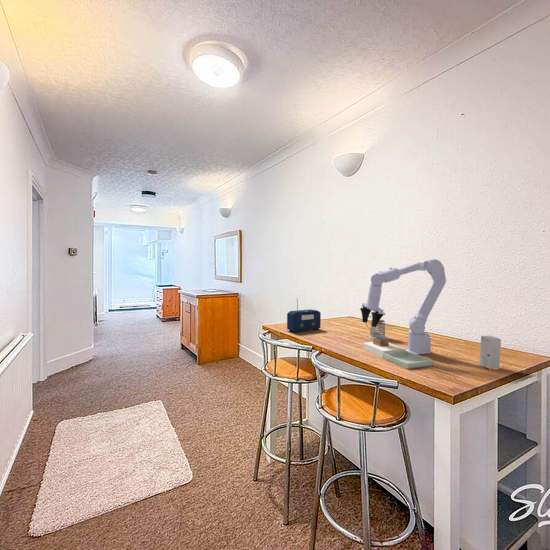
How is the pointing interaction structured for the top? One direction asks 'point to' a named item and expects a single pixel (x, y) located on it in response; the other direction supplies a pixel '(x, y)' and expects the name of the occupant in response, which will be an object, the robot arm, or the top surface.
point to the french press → (380, 325)
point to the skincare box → (490, 351)
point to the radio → (303, 320)
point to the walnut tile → (380, 342)
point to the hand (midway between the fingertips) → (369, 324)
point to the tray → (407, 359)
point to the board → (381, 348)
